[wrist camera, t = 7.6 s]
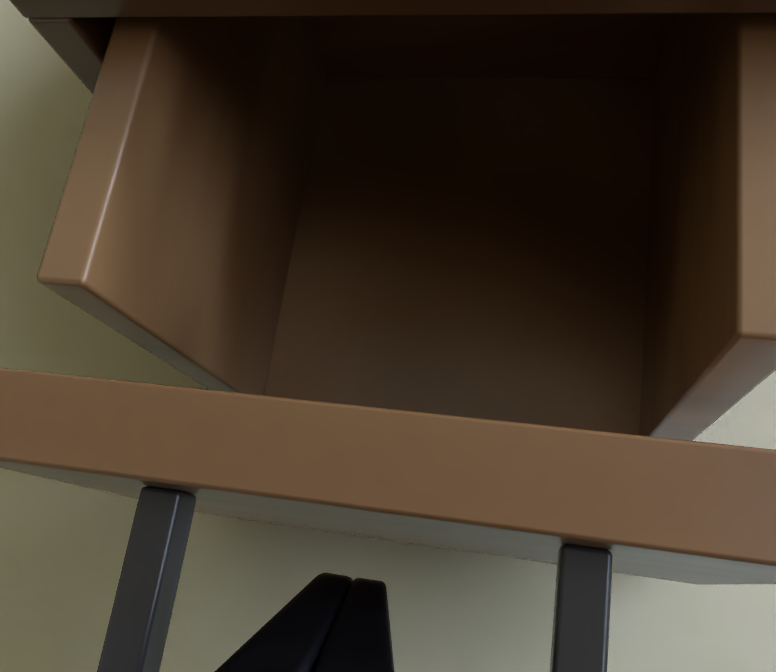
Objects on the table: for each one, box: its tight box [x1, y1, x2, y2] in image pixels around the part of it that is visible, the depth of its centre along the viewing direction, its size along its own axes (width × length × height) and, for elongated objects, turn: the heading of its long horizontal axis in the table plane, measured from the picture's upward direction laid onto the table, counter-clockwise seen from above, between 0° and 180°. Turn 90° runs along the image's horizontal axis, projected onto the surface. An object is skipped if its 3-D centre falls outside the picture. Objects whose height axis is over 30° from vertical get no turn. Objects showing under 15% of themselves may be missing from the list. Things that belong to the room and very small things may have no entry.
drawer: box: [0, 13, 776, 672], centre depth 14 cm, size 17×11×9 cm, turn 171°
